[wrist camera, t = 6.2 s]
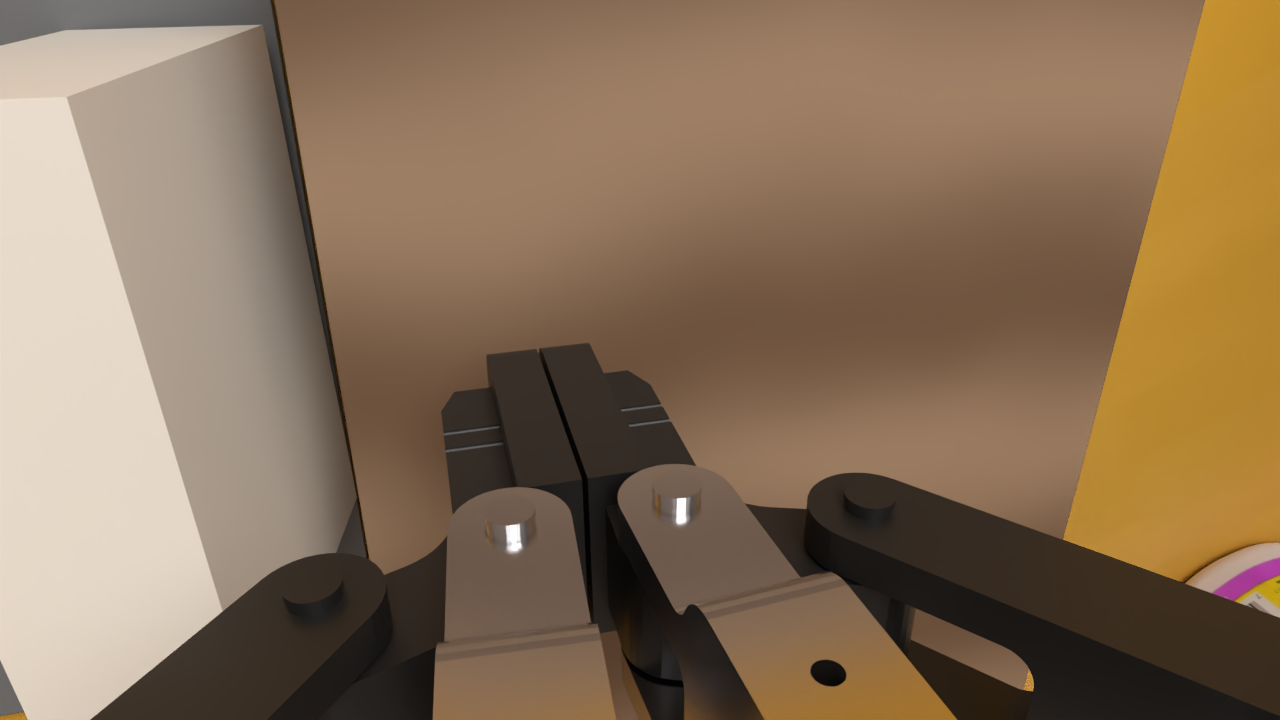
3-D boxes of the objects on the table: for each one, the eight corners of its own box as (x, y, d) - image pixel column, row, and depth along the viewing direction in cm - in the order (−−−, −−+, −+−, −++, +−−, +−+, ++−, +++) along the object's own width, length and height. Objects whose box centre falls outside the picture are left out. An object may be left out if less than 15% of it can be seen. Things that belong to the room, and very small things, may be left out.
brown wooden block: (228, -491, 12) (163, -654, 9) (1119, -409, 15) (1338, -504, 12) (413, 698, 22) (418, 846, 18) (929, 602, 25) (1016, 714, 21)
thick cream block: (262, 24, 14) (66, 30, 14) (66, 97, 9) (-258, 106, 8) (356, 498, 18) (205, 505, 18) (263, 745, 13) (46, 759, 13)
